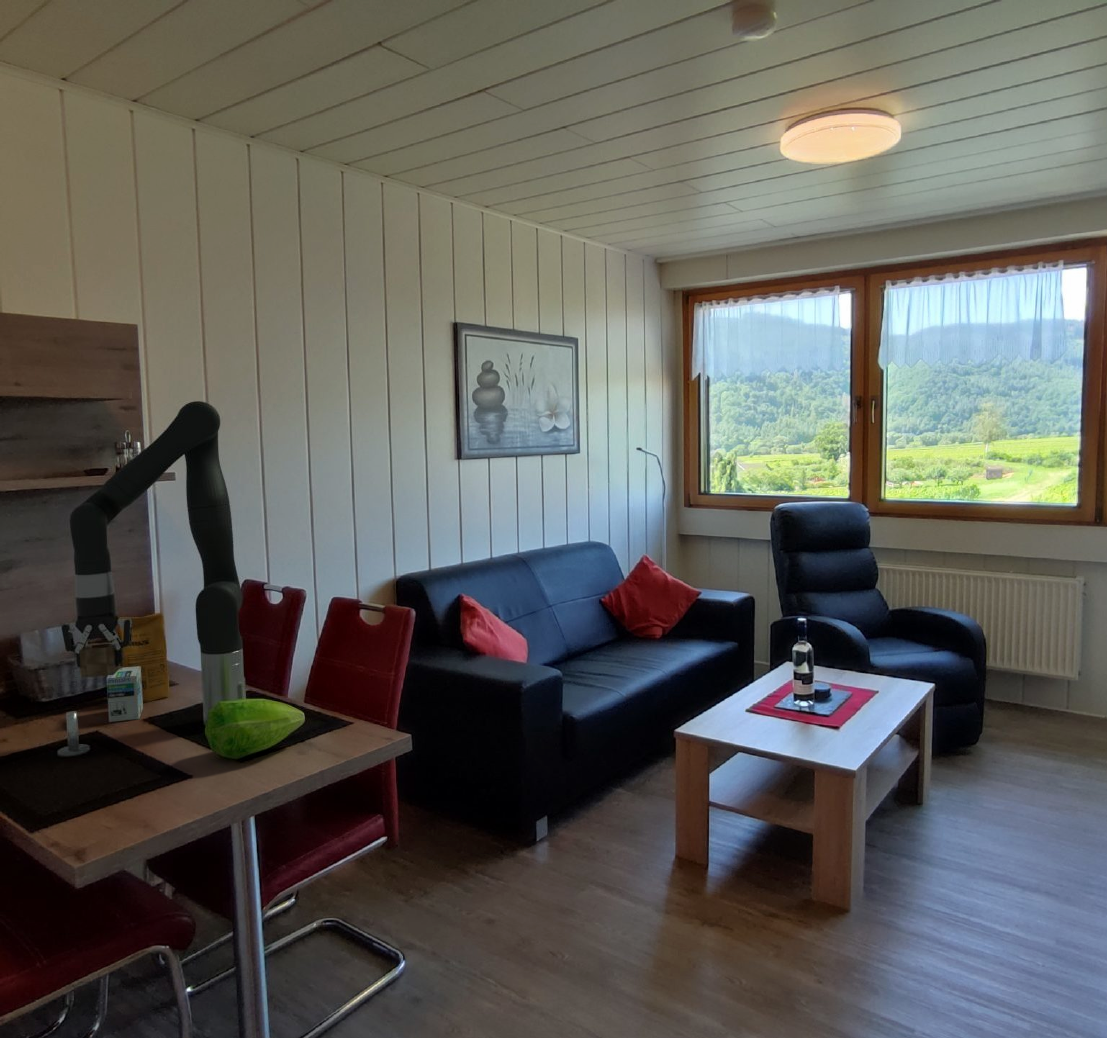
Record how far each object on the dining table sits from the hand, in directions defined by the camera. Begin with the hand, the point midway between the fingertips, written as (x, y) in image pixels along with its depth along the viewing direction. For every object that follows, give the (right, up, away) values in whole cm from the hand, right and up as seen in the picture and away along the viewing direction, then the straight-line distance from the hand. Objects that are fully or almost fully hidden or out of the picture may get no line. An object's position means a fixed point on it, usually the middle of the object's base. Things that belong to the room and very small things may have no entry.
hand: (100, 666), depth 185 cm
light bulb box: (-4, -15, +18) cm, 24 cm away
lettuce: (+38, -17, -9) cm, 43 cm away
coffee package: (-6, -14, +32) cm, 35 cm away
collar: (0, -1, 0) cm, 1 cm away
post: (-2, -17, -7) cm, 19 cm away
